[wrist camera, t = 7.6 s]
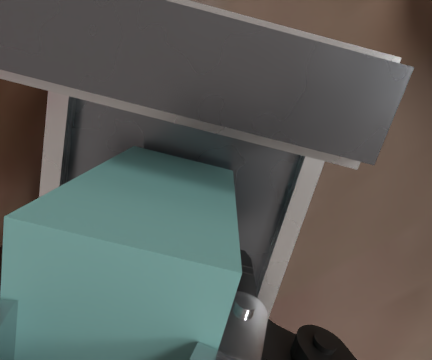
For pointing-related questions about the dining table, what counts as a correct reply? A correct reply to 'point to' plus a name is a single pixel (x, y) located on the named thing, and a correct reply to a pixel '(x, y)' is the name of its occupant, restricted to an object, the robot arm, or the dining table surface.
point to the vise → (200, 152)
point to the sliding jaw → (208, 72)
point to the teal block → (124, 261)
